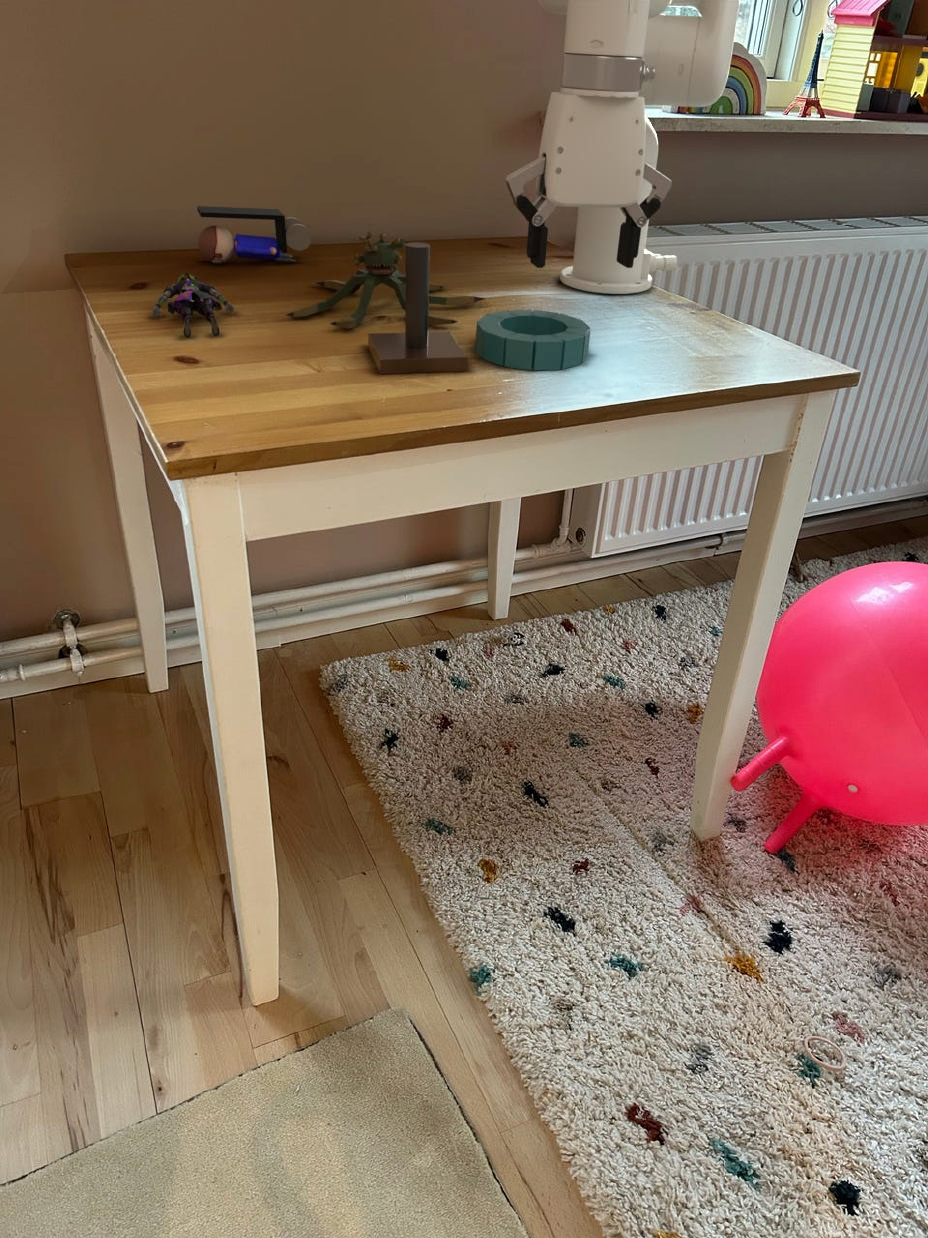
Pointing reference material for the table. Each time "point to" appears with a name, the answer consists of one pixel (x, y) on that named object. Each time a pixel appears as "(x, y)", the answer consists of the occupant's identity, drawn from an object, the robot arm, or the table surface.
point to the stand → (416, 328)
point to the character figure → (193, 302)
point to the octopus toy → (378, 270)
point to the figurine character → (221, 244)
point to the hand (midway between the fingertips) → (581, 265)
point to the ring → (532, 339)
